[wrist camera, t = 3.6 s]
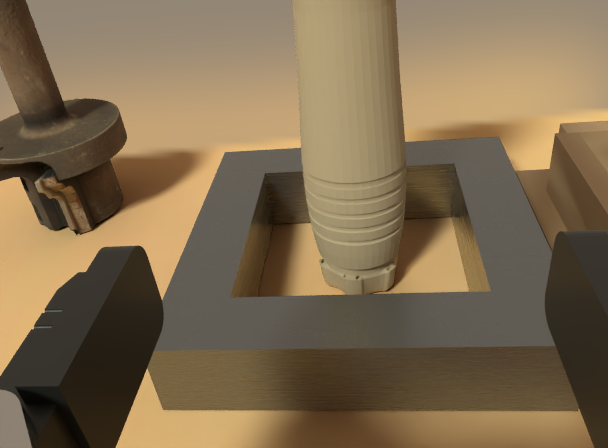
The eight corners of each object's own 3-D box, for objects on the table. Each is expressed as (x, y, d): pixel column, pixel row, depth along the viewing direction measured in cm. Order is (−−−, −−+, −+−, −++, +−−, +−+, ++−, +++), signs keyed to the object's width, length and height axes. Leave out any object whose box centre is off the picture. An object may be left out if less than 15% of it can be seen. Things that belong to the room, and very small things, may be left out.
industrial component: (61, 176, 36) (-18, -22, 30) (165, 176, 35) (107, -33, 28) (-34, 269, 29) (-169, 30, 22) (94, 272, 27) (-8, 18, 21)
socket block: (493, 188, 30) (498, 136, 28) (577, 410, 18) (594, 345, 17) (234, 200, 32) (224, 152, 30) (163, 409, 20) (141, 351, 18)
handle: (304, 240, 28) (258, -113, 19) (438, 250, 26) (453, -134, 18) (276, 308, 24) (204, -97, 16) (431, 323, 22) (444, -121, 14)
